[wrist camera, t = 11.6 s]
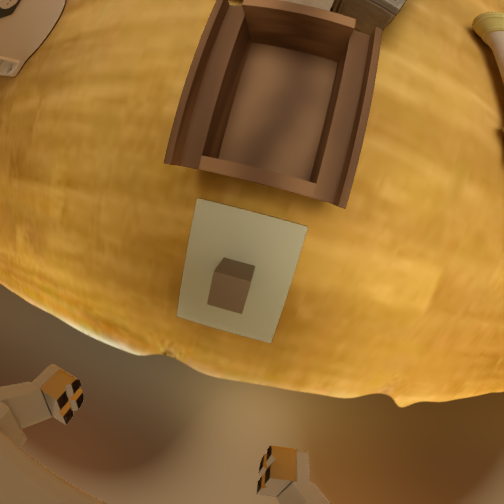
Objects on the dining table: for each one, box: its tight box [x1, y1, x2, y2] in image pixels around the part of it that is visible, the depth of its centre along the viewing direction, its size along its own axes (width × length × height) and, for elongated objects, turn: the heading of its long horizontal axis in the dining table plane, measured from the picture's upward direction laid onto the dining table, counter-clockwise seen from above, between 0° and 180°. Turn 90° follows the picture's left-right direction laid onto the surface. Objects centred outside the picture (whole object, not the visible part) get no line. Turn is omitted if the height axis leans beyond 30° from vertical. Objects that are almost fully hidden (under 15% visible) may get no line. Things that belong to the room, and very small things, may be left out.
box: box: [164, 0, 382, 209], centre depth 18 cm, size 12×14×8 cm
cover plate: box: [177, 198, 308, 343], centre depth 24 cm, size 10×12×5 cm
